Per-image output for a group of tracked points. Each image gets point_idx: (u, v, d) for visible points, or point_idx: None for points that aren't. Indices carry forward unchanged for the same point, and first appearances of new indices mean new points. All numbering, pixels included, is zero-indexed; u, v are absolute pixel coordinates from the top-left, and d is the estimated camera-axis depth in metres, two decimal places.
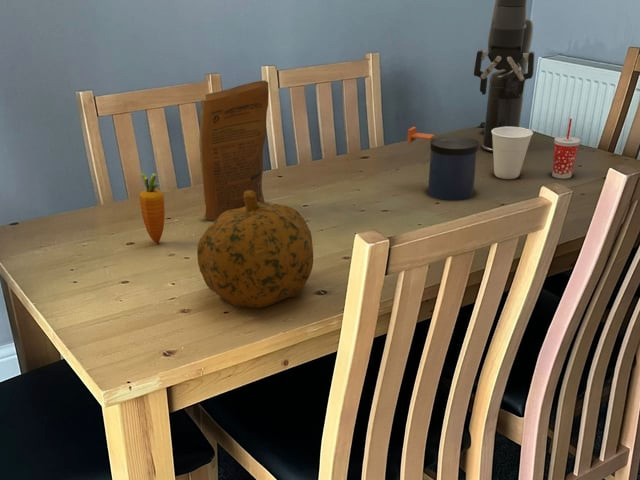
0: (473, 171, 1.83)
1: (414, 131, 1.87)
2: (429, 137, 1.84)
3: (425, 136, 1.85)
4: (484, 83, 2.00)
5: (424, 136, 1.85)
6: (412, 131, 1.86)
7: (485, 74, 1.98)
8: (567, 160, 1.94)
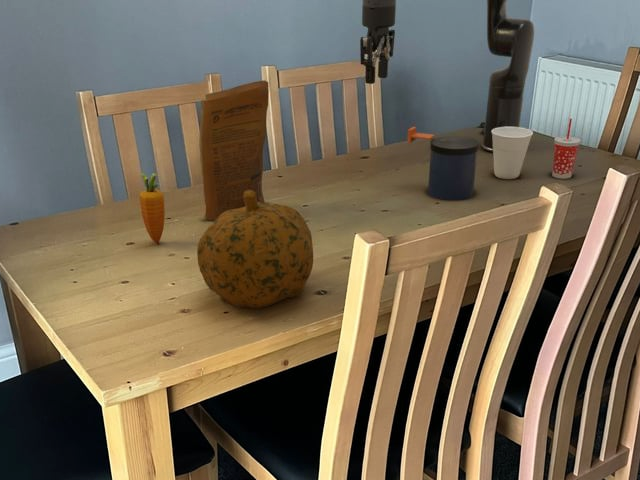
0: (473, 171, 1.83)
1: (414, 131, 1.87)
2: (429, 137, 1.84)
3: (425, 136, 1.85)
4: (374, 71, 1.83)
5: (424, 136, 1.85)
6: (412, 131, 1.86)
7: (375, 61, 1.82)
8: (567, 160, 1.94)
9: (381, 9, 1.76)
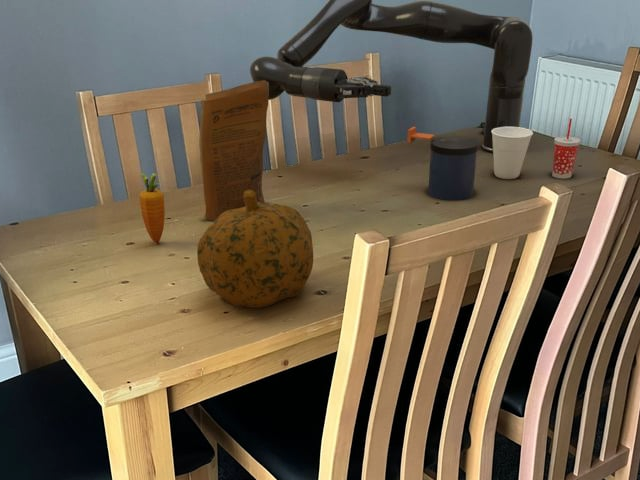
0: (473, 171, 1.83)
1: (414, 131, 1.87)
2: (429, 137, 1.84)
3: (425, 136, 1.85)
4: (378, 85, 1.86)
5: (424, 136, 1.85)
6: (412, 131, 1.86)
7: (370, 84, 1.87)
8: (567, 160, 1.94)
9: (321, 78, 1.89)
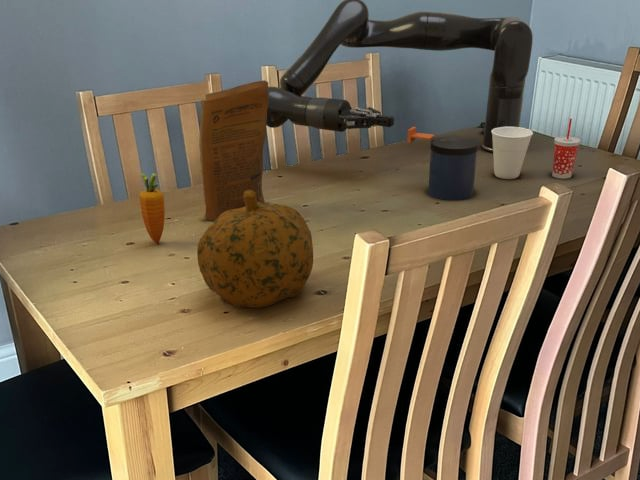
0: (473, 171, 1.83)
1: (414, 131, 1.87)
2: (429, 137, 1.84)
3: (425, 136, 1.85)
4: (381, 116, 1.89)
5: (424, 136, 1.85)
6: (412, 131, 1.86)
7: (373, 114, 1.90)
8: (567, 160, 1.94)
9: (325, 108, 1.92)
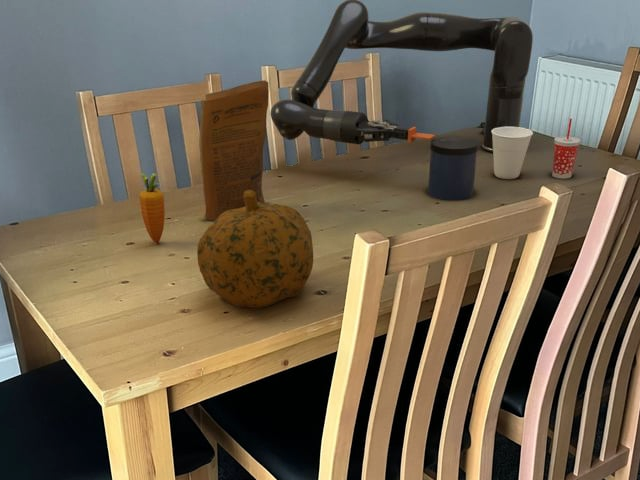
0: (473, 171, 1.83)
1: (414, 131, 1.87)
2: (429, 137, 1.84)
3: (425, 136, 1.85)
4: (399, 129, 1.88)
5: (424, 136, 1.85)
6: (412, 131, 1.86)
7: (391, 127, 1.89)
8: (567, 160, 1.94)
9: (342, 121, 1.92)
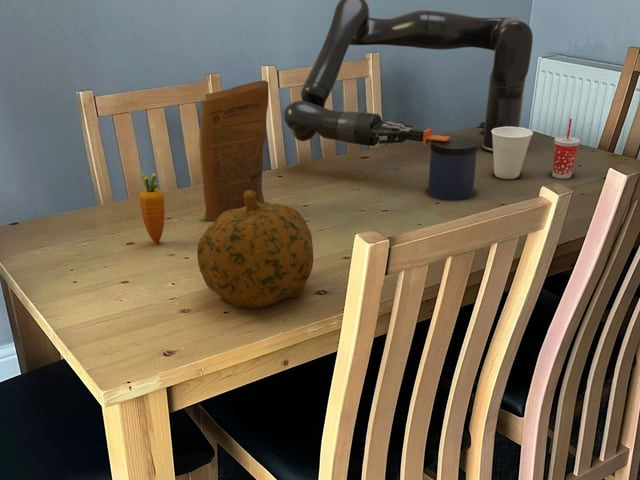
0: (473, 171, 1.83)
1: (429, 133, 1.86)
2: (445, 139, 1.83)
3: (441, 138, 1.83)
4: (414, 130, 1.86)
5: (440, 138, 1.83)
6: (428, 133, 1.84)
7: (405, 129, 1.87)
8: (567, 160, 1.94)
9: (357, 123, 1.90)
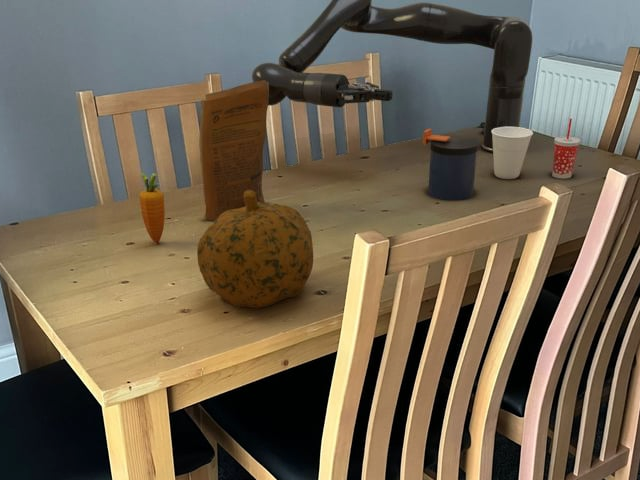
0: (473, 171, 1.83)
1: (429, 133, 1.86)
2: (445, 139, 1.83)
3: (441, 138, 1.83)
4: (379, 90, 1.87)
5: (440, 138, 1.83)
6: (428, 133, 1.84)
7: (371, 89, 1.88)
8: (567, 160, 1.94)
9: (323, 83, 1.90)
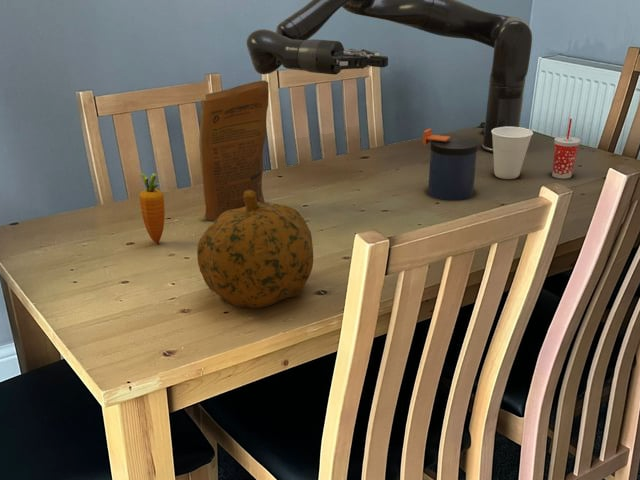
0: (473, 171, 1.83)
1: (429, 133, 1.86)
2: (445, 139, 1.83)
3: (441, 138, 1.83)
4: (375, 56, 1.84)
5: (440, 138, 1.83)
6: (428, 133, 1.84)
7: (366, 55, 1.85)
8: (567, 160, 1.94)
9: (318, 50, 1.88)
